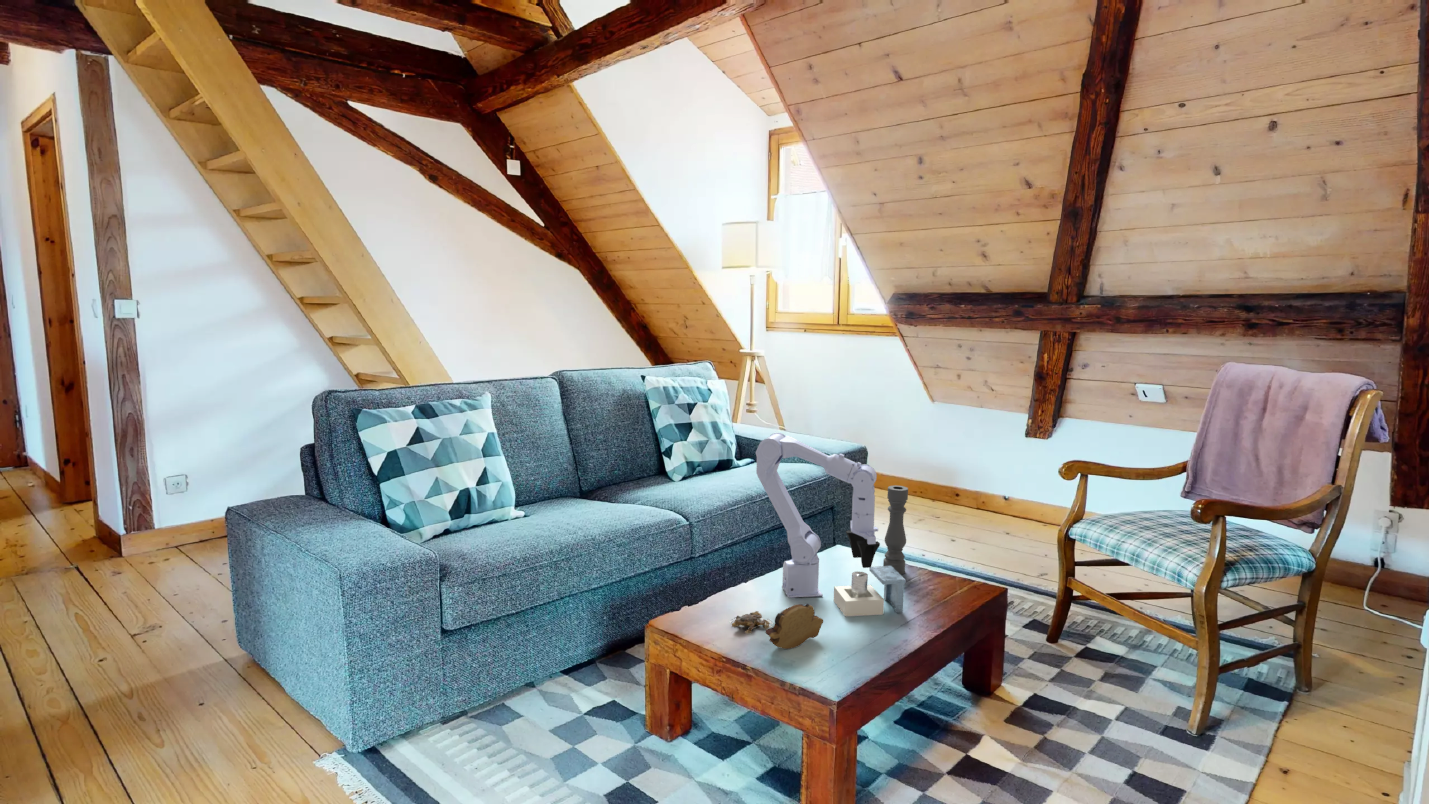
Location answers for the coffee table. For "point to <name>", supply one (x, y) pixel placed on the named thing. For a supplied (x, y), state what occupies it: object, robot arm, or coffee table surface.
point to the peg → (859, 584)
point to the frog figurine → (751, 621)
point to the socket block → (858, 602)
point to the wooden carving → (794, 626)
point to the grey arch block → (891, 585)
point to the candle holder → (896, 528)
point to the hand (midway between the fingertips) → (861, 562)
